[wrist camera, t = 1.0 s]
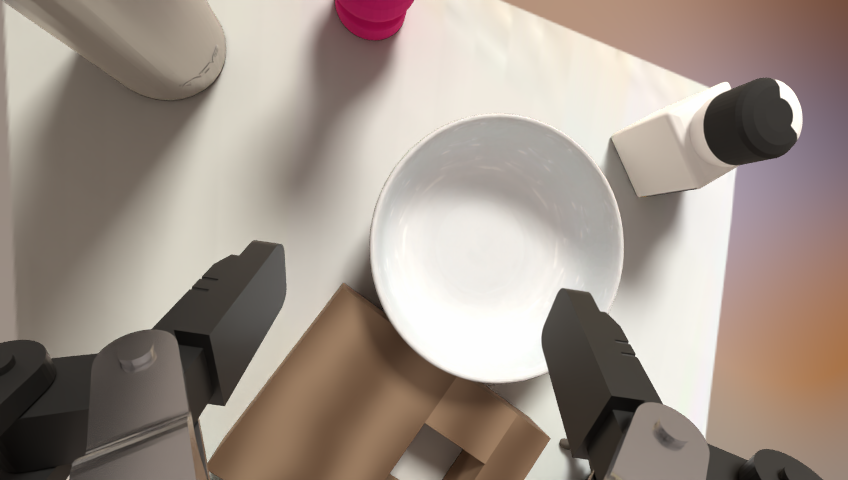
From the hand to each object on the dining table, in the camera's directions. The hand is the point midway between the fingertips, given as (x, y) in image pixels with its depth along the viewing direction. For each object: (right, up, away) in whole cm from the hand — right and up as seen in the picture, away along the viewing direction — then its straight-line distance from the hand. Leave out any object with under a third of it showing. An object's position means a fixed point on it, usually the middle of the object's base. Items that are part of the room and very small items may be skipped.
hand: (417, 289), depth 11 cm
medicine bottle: (+24, +10, +28) cm, 38 cm away
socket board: (-3, -15, +22) cm, 27 cm away
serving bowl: (+5, +1, +25) cm, 25 cm away
